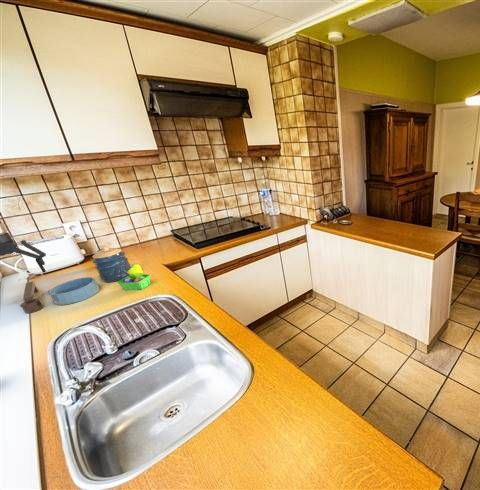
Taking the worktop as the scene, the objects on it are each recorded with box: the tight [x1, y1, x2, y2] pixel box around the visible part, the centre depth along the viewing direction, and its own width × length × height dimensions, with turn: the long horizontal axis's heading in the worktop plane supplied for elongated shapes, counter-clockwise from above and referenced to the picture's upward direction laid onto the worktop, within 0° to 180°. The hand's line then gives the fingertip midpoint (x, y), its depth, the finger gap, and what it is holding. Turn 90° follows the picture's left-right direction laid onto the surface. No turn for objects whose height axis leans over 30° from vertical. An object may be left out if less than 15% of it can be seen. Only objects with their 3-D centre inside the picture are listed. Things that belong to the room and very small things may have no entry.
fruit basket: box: [116, 263, 151, 291], centre depth 130 cm, size 11×9×11 cm
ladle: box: [19, 280, 45, 315], centre depth 123 cm, size 24×6×6 cm, turn 48°
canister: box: [91, 246, 132, 283], centre depth 140 cm, size 13×13×18 cm
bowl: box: [48, 276, 100, 306], centre depth 126 cm, size 15×15×6 cm
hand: (22, 277), depth 122 cm, fingers open, 13 cm apart
